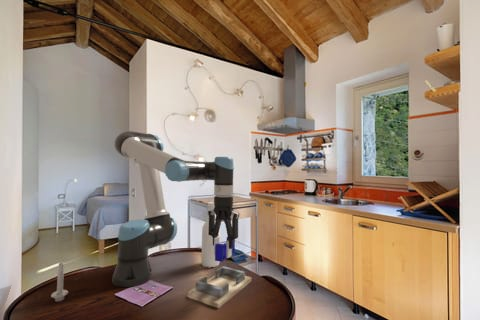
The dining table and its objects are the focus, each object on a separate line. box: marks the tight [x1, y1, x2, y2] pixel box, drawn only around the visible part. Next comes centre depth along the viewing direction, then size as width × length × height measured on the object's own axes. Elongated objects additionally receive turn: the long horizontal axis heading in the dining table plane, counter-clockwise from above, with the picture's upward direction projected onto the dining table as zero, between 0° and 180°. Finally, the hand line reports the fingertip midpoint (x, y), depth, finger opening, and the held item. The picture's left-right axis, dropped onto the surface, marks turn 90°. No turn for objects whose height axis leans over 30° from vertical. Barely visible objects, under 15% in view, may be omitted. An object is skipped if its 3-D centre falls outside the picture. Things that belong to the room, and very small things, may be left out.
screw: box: [50, 261, 69, 303], centre depth 88 cm, size 13×5×5 cm
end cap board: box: [186, 265, 253, 309], centre depth 98 cm, size 14×24×4 cm, turn 150°
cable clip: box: [215, 236, 236, 263], centre depth 99 cm, size 12×4×6 cm, turn 159°
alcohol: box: [200, 201, 221, 269], centre depth 122 cm, size 9×9×30 cm
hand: (222, 255), depth 98 cm, fingers closed on cable clip, 5 cm apart
